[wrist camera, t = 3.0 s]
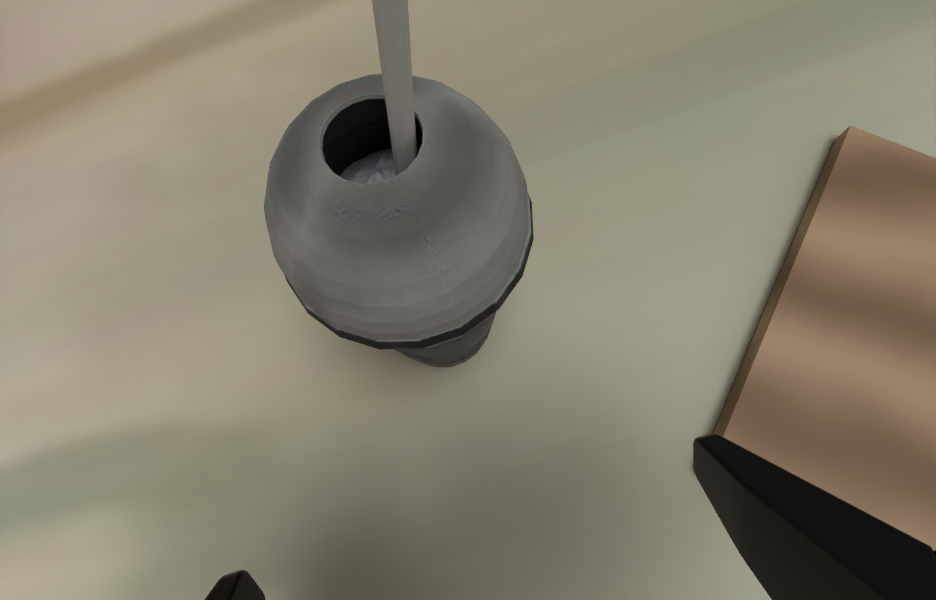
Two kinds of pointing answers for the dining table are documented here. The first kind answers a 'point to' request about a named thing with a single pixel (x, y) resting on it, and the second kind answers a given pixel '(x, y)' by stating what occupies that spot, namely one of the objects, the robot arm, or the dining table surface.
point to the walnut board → (853, 340)
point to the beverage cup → (399, 209)
